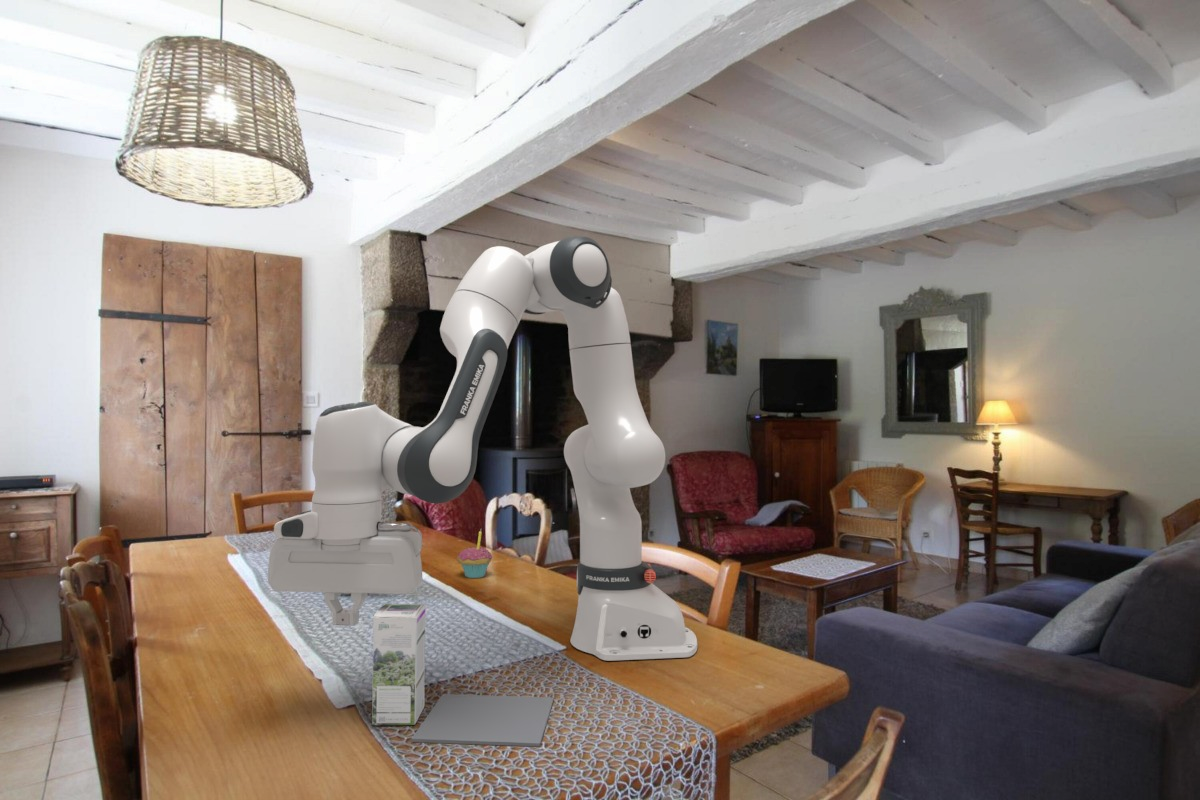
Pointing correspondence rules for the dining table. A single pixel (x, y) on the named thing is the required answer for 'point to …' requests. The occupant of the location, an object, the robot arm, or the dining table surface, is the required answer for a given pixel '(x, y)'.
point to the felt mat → (486, 720)
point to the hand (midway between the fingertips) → (345, 624)
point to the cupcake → (475, 560)
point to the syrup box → (398, 664)
